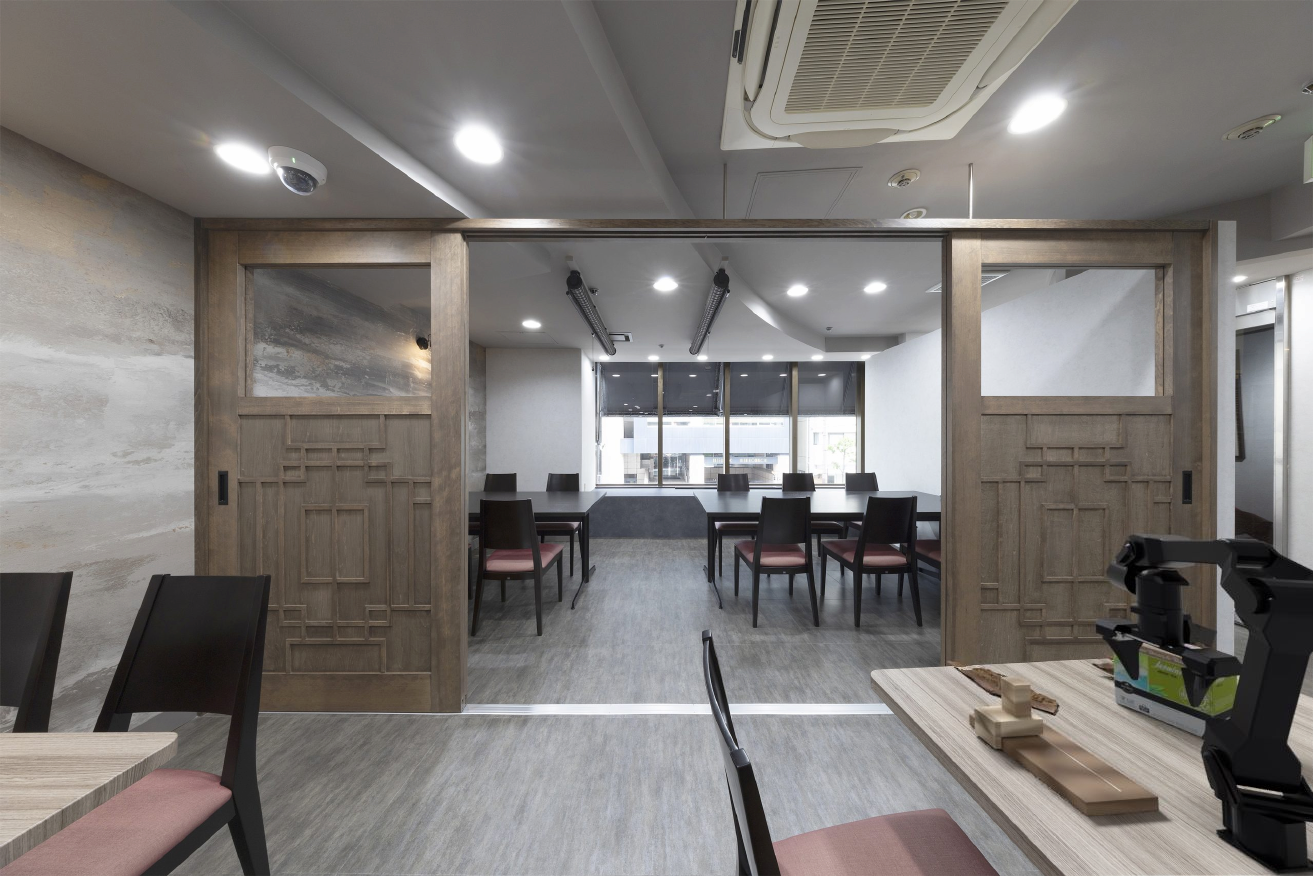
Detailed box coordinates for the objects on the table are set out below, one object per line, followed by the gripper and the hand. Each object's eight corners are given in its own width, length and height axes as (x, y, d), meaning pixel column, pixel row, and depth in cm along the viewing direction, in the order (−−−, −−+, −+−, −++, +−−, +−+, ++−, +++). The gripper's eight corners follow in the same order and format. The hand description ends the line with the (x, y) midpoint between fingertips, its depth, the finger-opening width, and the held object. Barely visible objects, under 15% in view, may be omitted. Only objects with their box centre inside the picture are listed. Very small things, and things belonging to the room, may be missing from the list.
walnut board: (1159, 810, 72) (1158, 796, 72) (1086, 816, 71) (1086, 802, 71) (1024, 720, 96) (1024, 710, 96) (969, 723, 95) (969, 713, 95)
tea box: (1113, 704, 101) (1110, 635, 102) (1139, 694, 105) (1136, 628, 105) (1215, 744, 87) (1211, 664, 87) (1241, 732, 91) (1237, 655, 91)
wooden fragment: (1075, 712, 99) (1075, 707, 99) (1035, 720, 96) (1034, 715, 96) (968, 659, 124) (968, 655, 124) (934, 665, 121) (934, 660, 121)
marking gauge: (1043, 745, 87) (1041, 686, 87) (995, 749, 86) (993, 689, 86) (1021, 729, 92) (1018, 673, 92) (975, 732, 91) (973, 676, 91)
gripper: (1271, 621, 75) (1277, 720, 74) (1142, 587, 93) (1146, 666, 93) (1208, 624, 74) (1213, 724, 74) (1091, 589, 93) (1094, 669, 92)
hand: (1163, 692), depth 83 cm, fingers open, 9 cm apart
